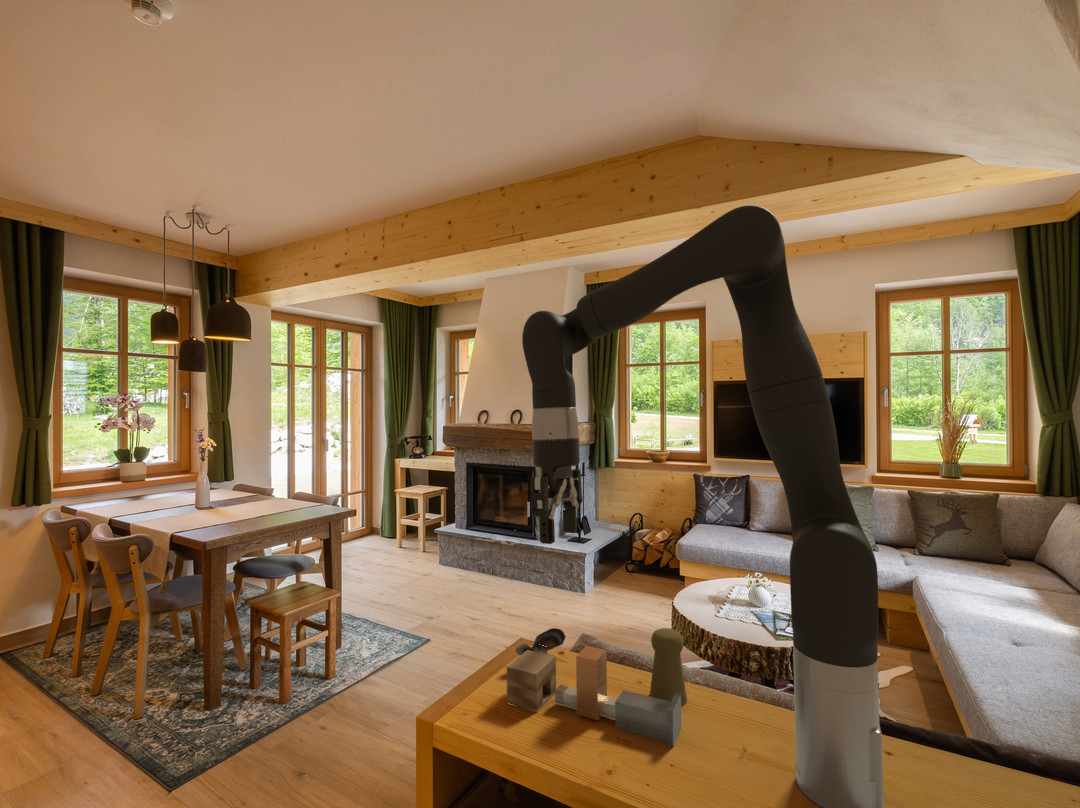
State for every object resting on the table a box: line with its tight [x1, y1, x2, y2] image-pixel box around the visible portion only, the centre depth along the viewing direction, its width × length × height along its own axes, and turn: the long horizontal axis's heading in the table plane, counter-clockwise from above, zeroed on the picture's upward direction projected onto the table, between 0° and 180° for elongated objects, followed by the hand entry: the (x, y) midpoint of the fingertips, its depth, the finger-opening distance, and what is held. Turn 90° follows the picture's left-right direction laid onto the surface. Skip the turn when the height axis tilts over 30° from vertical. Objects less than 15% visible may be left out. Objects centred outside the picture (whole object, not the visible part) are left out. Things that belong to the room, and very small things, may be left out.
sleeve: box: [614, 689, 682, 748], centre depth 78 cm, size 9×5×5 cm, turn 62°
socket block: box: [506, 650, 557, 713], centre depth 88 cm, size 6×7×6 cm
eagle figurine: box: [515, 627, 566, 656], centre depth 99 cm, size 8×7×9 cm
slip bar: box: [554, 645, 617, 721], centre depth 81 cm, size 18×4×9 cm, turn 62°
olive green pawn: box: [649, 627, 688, 708], centre depth 87 cm, size 6×6×11 cm
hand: (559, 537), depth 84 cm, fingers open, 8 cm apart
